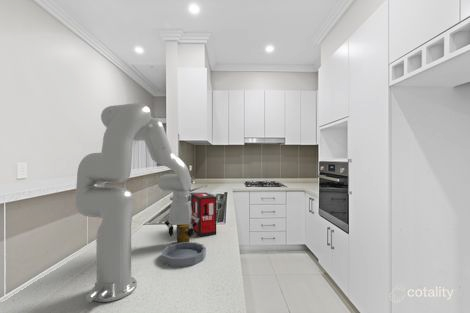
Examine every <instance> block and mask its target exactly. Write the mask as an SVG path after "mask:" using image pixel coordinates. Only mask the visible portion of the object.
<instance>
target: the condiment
mask: <svg viewBox="0 0 470 313" xmlns="http://www.w3.org/2000/svg"><path fill="white" fill-rule="evenodd" d="M190 239H191V237H190V226H189V225H176V241H173V242H170V245H173V244H176V243H183V242H191V241H190Z"/></svg>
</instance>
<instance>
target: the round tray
mask: <svg viewBox="0 0 470 313" xmlns="http://www.w3.org/2000/svg"><path fill="white" fill-rule="evenodd" d="M206 256H207V247H205V245H204V244H201V243H199V242H195V241H194V242H193V241H192V242H191V241H190V242H183V243H176V244H173V245H171V244H170V245H168V246H166V247H165V248H164V249H163V250H162V251H161V261H162V264H164V265H167V266H169V267H171V268H172V267H173V268H184V267H185V268H186V267H192V266H195V265H198V264H199V263H201V262H203V261H204V259H205V258H206Z"/></svg>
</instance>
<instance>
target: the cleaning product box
mask: <svg viewBox="0 0 470 313" xmlns="http://www.w3.org/2000/svg"><path fill="white" fill-rule="evenodd" d="M190 202H191V207H192V215H194V216H196V217H198V218H199V221H198V223H197V225H196V226H195V227H194V234H196V235H197V236H198V237H199V238H204V237H205V238H206V237H210V236H211V237H212V236H216V235H217V197H216V196H215V195H213V194H210V193H207V192H200V193H199V192H198V193H191V194H190ZM192 222H193V224H194V223H195V220H194V219H193V218H192Z"/></svg>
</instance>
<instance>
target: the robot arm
mask: <svg viewBox="0 0 470 313" xmlns="http://www.w3.org/2000/svg"><path fill="white" fill-rule="evenodd" d="M151 116H152V114H151V108H149V106H147V105H146V104H145V103H138V102H137V103H126V104H119V105H117V104H116V105H109V106H107V107H105V108H104V109H103V110H102V112H101V114H100V119H101V122H102V124H103V125H104V126H105V131H104V133H103V138H102V139H103V140H102V147H101V152H92V153H89V154H87V155H85V156H84V157H83V158H82V159H81V160H80V162H79V164H78V168H77V175H76V186H75V206H76V209H77V212H78V213H79V214H81V215H82V216H85V217H88V218H89V217H90V218H99V219H102V220H101V223H100V225H99V227H98V229H97V232H96V240H95V241H96V242H95V243H96V246H95V247H96V255H95V256H96V282H95V283H94V286H93V287H92V288H91V290H90V292H89V294H87V295H86V297H85V301H86V302H88V303H91V302H93V301H95V302H97V303H98V302H99V303H109V302H115V301H117V300H120V299H123V298H125V297H127V296H128V295H130V294H132V293H133V292H134V291H135V289H137V284H138V283H137V279H136V278H134V277H132V223H133V222H132V221H133V220H132V219H133V214H134V209H135V204H136V203H135V201H136V200H135V196H134V194H133V193H132V192H131V191H130V190H129V189H128V188H124V187H118V186H117V187H116V186H105V184H106V183H108V184H110V183H111V184H115V183H116V184H117V183H118V184H119V183H124V182H126V181H128V180H129V178H130V177H131V173H132V162H133V161H132V160H133V159H132V158H133V146H134V145H133V144H134V142H135V141H137V142H138V141H139V142H140V141H144V142H145V146H146V148H147V151H148V152H149V155H150V158H151V160H152V161H153V162H155V163H157V164H159V165H161V166H164V167H166V168H169V170H171V171H173V172H174V174H173V173H171V174H170V173H169V174H168V173H166V174H163V175H161V176H160V177H159V178H158V181H157V186H158V188H159V189H160V190H162V191H164V192H172V196H170V197H169V200H170V201H172V202H171V203H170V208H169V214H168V215H167V216H165V217H163V218H162V220H163V222H164V224H165V225H166V227H167V228H168V235H169V237H170V238H171V237H172V236H173V235H174V226H177V225H189V226H190V238H192V237H193V235H194V234H195V232H194V227H195V226H196V225H197V223H198V221H199V218H198V217H196V216H194V215H192V207H191V201H190V188H191V186H192V179H191V174H190V172H189V169H188V166H187V164H186V163H185V162H184V161H183V160H182V159H181V158H180V157H179V156H178V155H177V154H175V153H174V152H173V151H172V147H171V146H170V142H169V140H168V139H169V138H168V137H167V133H166V130H165V127H164V125H163V123H162V122H161V121H160V120H159V119H157V118H151ZM192 218H193V219H194V220H195V223H194V224H193V222H192Z"/></svg>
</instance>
